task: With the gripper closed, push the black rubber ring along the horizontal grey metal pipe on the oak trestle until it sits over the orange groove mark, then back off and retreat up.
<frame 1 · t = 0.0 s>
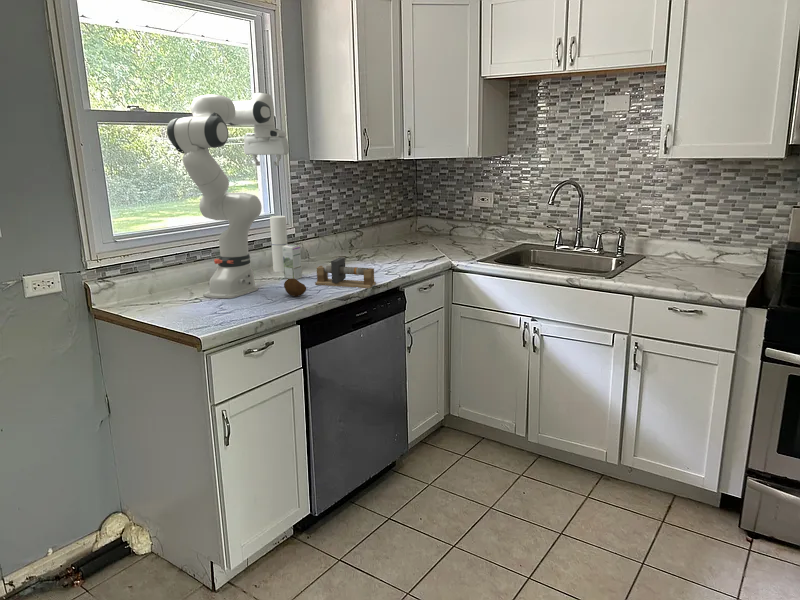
hand: (267, 165, 264), 48 cm above the worktop, fingers open, 8 cm apart
syrup box: (293, 278, 267), on the worktop
potato: (294, 296, 236), on the worktop
pipe rig: (345, 284, 254), on the worktop
cylindrical container: (281, 270, 282), on the worktop
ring: (338, 269, 253), point 6 cm above the worktop, slide at 0.0 cm
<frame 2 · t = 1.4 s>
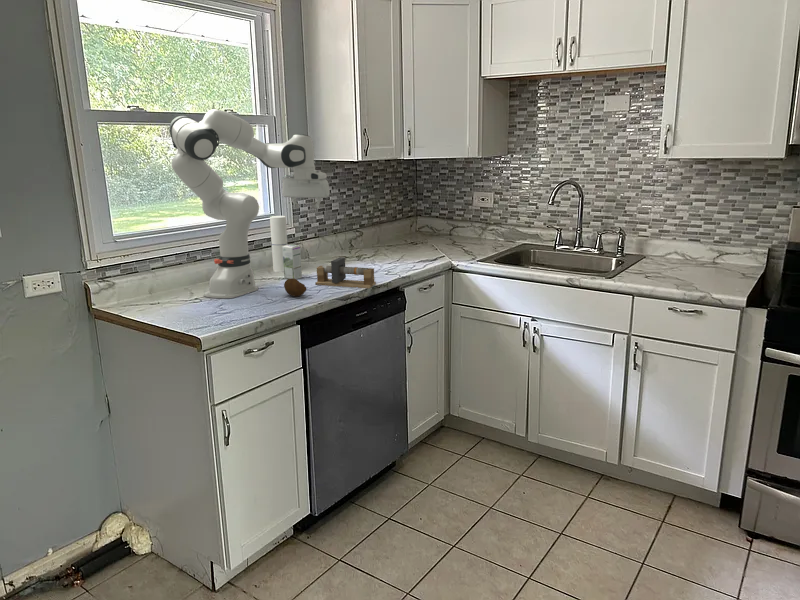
hand: (306, 208, 255), 31 cm above the worktop, fingers open, 8 cm apart
nothing on the worktop moved.
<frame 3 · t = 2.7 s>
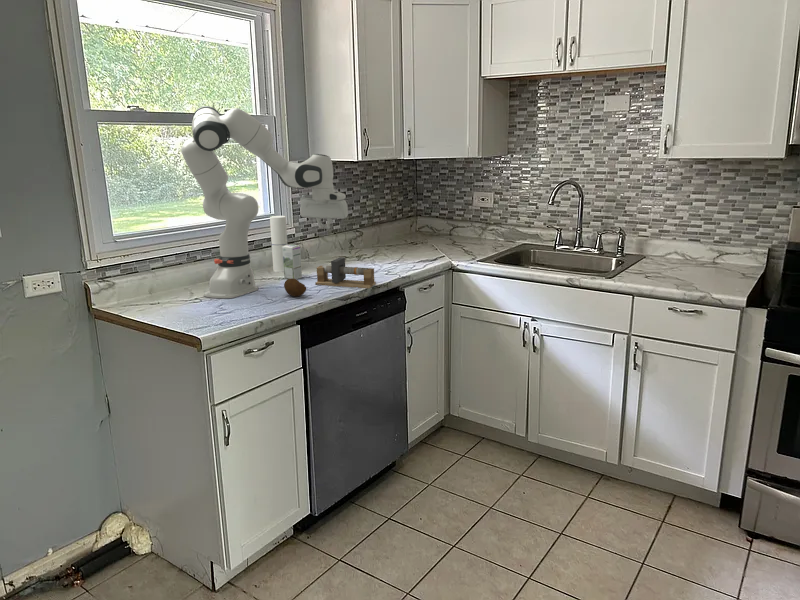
hand: (324, 228, 250), 23 cm above the worktop, fingers closed
nothing on the worktop moved.
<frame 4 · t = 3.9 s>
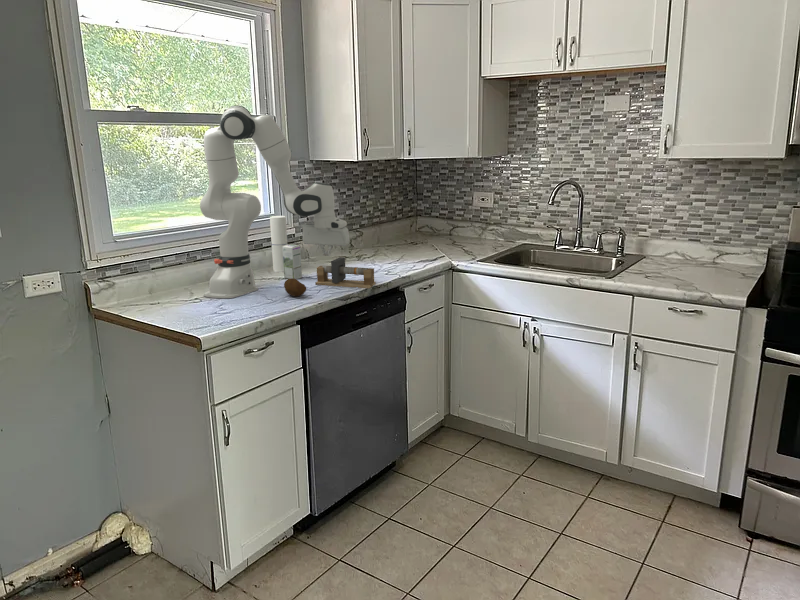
hand: (326, 255, 253), 12 cm above the worktop, fingers closed
nothing on the worktop moved.
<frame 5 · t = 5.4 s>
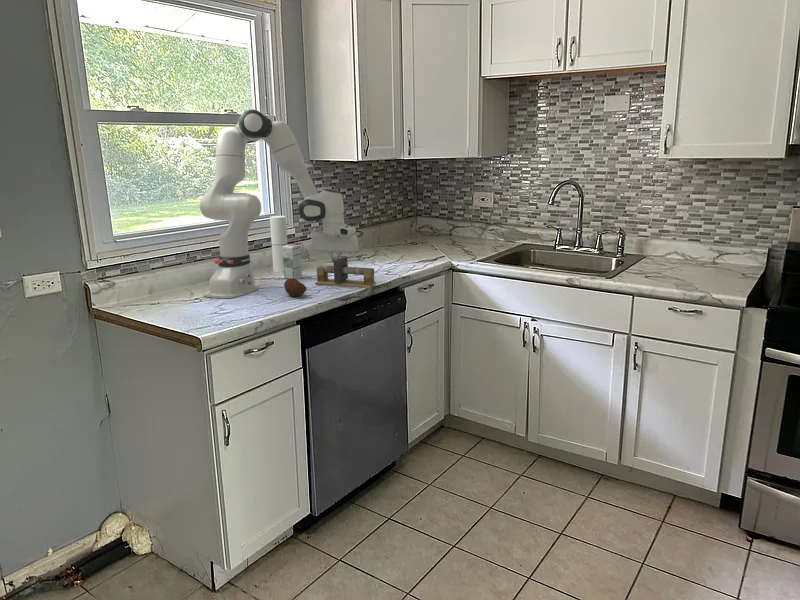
hand: (335, 261, 253), 9 cm above the worktop, fingers closed
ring: (340, 270, 253), point 6 cm above the worktop, slide at 1.1 cm, touching gripper
everything else where it was.
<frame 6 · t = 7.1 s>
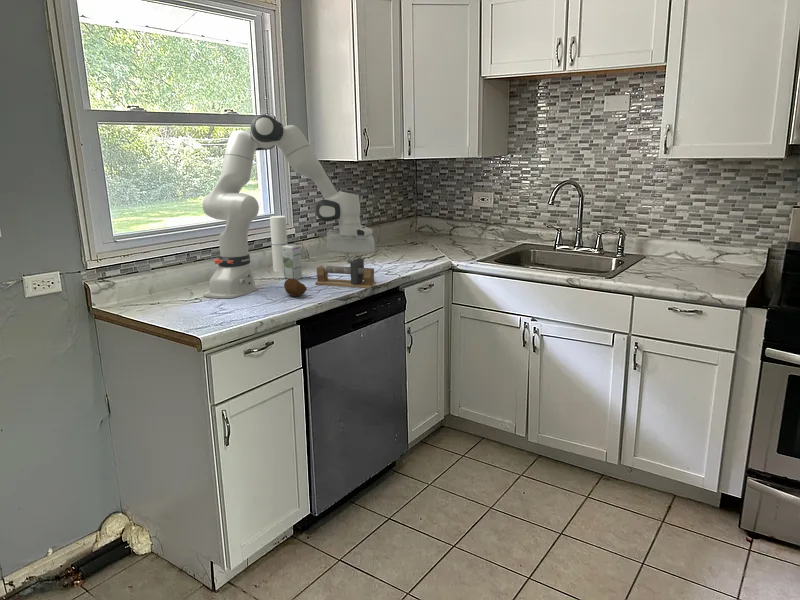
hand: (351, 263, 251), 9 cm above the worktop, fingers closed
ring: (357, 271, 251), point 6 cm above the worktop, slide at 8.4 cm, touching gripper
everything else where it was.
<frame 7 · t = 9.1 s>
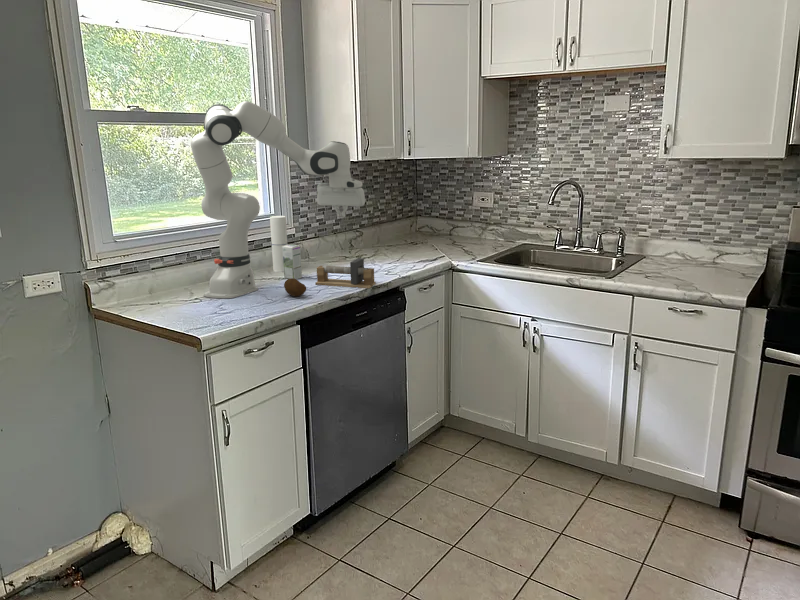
hand: (341, 216, 249), 28 cm above the worktop, fingers closed
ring: (357, 271, 251), point 6 cm above the worktop, slide at 8.5 cm
everything else where it was.
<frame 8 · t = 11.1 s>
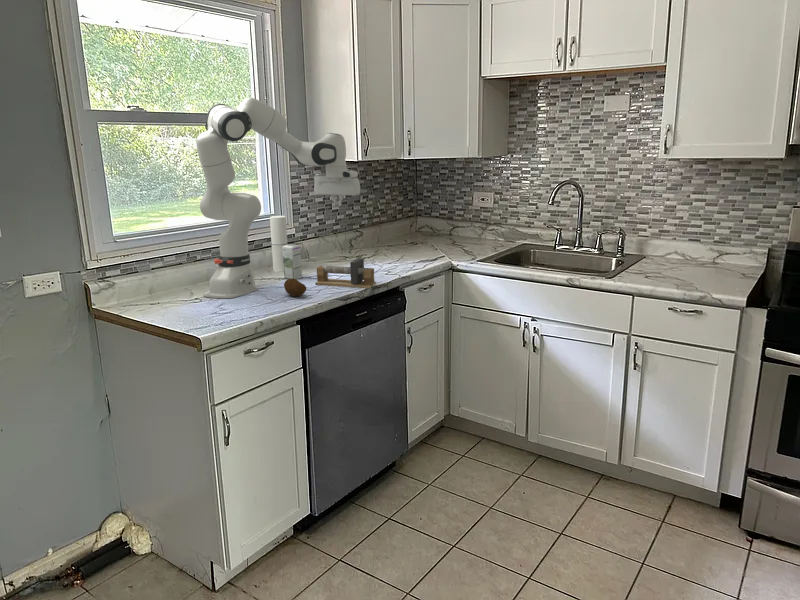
hand: (337, 205, 260), 31 cm above the worktop, fingers closed
nothing on the worktop moved.
at the end: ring slide at 8.5 cm; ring touching nothing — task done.
